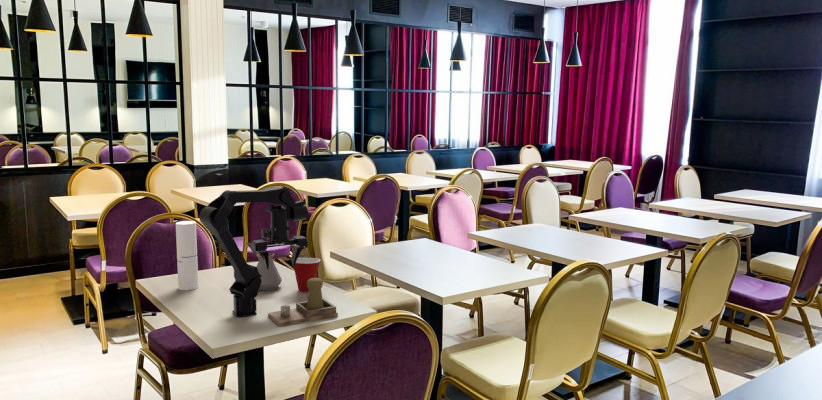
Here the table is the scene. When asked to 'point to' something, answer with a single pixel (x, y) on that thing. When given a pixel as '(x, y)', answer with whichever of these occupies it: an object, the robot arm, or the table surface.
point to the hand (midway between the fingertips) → (280, 267)
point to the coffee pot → (267, 272)
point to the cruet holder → (302, 313)
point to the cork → (314, 294)
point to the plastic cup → (305, 271)
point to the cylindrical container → (187, 255)
